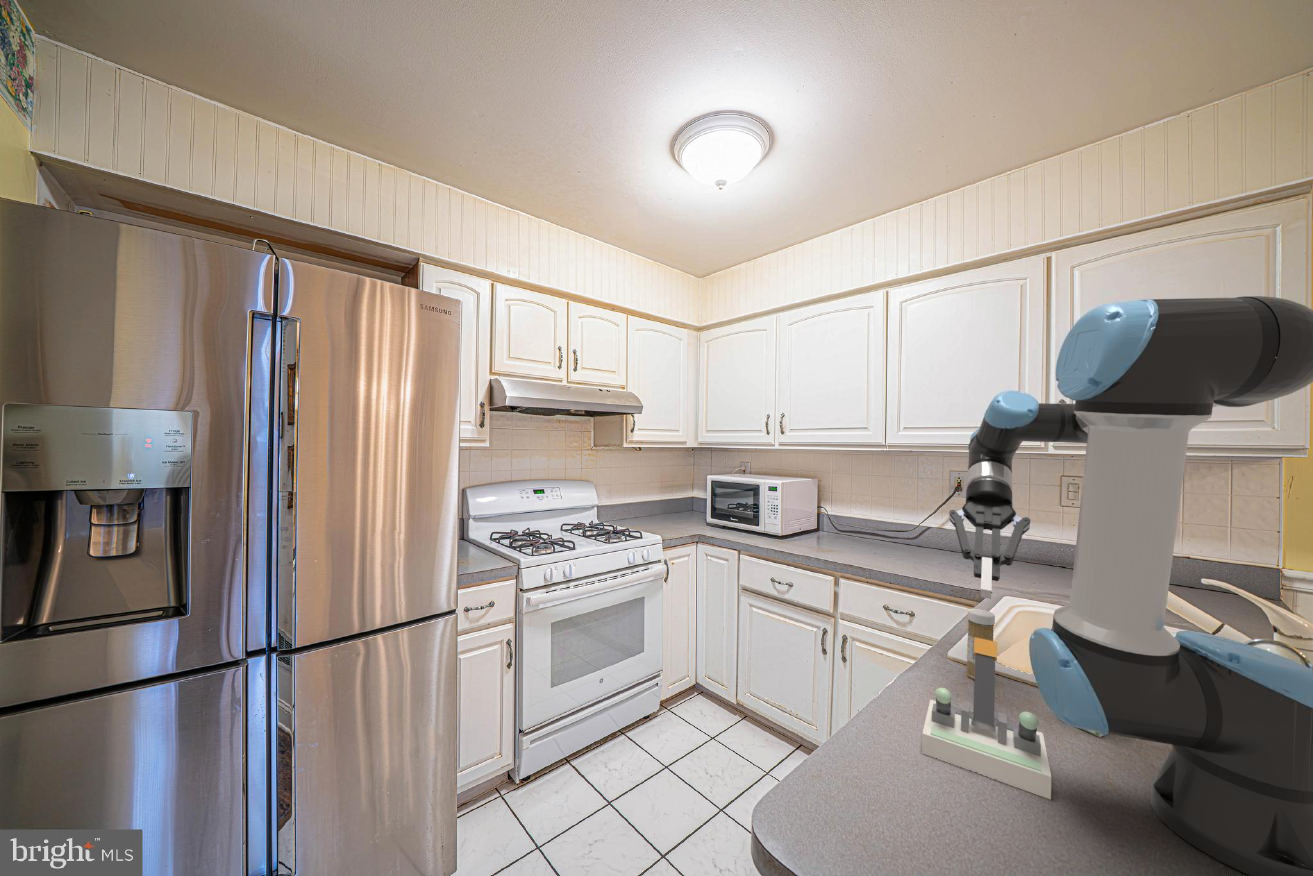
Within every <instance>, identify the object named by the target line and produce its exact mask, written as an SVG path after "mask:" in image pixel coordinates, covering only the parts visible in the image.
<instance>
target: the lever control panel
mask: <svg viewBox="0 0 1313 876" xmlns="http://www.w3.org/2000/svg"><path fill="white" fill-rule="evenodd" d="M934 696H935V700H933V699H929V703H928V704H929V705H928V708H927V712H926V716H925V721H924V726H923V730H922V735H921V736H922V738H921V739H922V741H921V754H923V755H926V756H929V757H931V758H934V759H936V758H937V760H939V761H942V762H945V763H948V764H950V763H951V765H954V766H956V767H959V768H961V767H962V769H963V770H967V771H970V770H971V771H970V772H972V773H973V772H974V773H975V772H977V773H976V774H979V775H981V774H982V775H981V776H984V777H986V776H987V778H989V779H992V780H995V779H996V780H995V781H998V782H1001V783H1004V784H1006V785H1010V786H1012V787H1014V788H1017V789H1021V790H1023V791H1025V792H1027V793H1028V792H1029V793H1032V794H1034V795H1037V796H1040V797H1041V798H1045V799H1048V800H1050V801H1051V799H1052V778H1053V777H1052V772H1051V768H1050V762H1049V759H1048V758H1049V757H1048V753H1047V748H1046V744H1045V743H1046V742H1045V738H1044V734H1043V732H1041V731H1038V727H1039V720H1038V718H1037V716H1035V714H1034V713H1031V712H1030V711H1022V712H1020V714H1019V716H1018V725H1017V724H1014V723H1011V722H1008V719H1007V714H1006V713H1003V712H1000V711H999V712H997V718H995V717H994V721H996V732H995V733H994V732H991V731H988V730H984V729H981V728H978V727H975V726H972V725H971V721H972V714H973V711H972V710H970V709H971V704H970V703H969V702H966V701H962V702H961V707H958V706H954V705H952V694H951V692H950V691H949V690H948V689H947V688H945V687H938V688H937V689H936V690H935V692H934Z"/></svg>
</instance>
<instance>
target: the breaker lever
mask: <svg viewBox="0 0 1313 876" xmlns="http://www.w3.org/2000/svg"><path fill="white" fill-rule="evenodd" d="M974 656H975V680H974V683H973V684H974V685H973V686H974V687H973V689H974V690H973V711H972V712H973V714H972V721H971V725H972V726H975V727H978V728H981V729H984V730H988V731H991V732H994V733H995V732H996V721H994V718H995V704H996V703H995V697H996V696H995V694H996V691H995V689H996V662H997V660H998V641H994V640H993V641H990V640H985V639H981V638H976V637H975V640H974Z"/></svg>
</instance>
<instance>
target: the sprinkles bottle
mask: <svg viewBox="0 0 1313 876" xmlns="http://www.w3.org/2000/svg"><path fill="white" fill-rule="evenodd" d="M995 615H996V614H994V613H993V612H991V611H990V610H989V611H988V610H985V609H979V608H969V609H968V610H967V622H968V623H967V624H968V625H967V626H968V627H967V648H966V651H967V652H966V659H967V661H966V662H967V663H966V665H967V666H966V671H965V672H966V673H965V675H966V676H967V677H969V678H970V679H972V680H973V679H974V681H975V656H974V640H975V637H976V638H981V639H985V640H990V641H994V626H995V624H996V616H995Z"/></svg>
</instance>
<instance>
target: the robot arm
mask: <svg viewBox="0 0 1313 876" xmlns="http://www.w3.org/2000/svg"><path fill="white" fill-rule="evenodd" d="M1055 381H1056V382H1057V384H1056V385H1057V387H1056V388H1057V390H1058V391H1059V393H1060V394H1061V395H1062V396H1064V397H1065V398H1067V399H1069V400H1071V401H1075V403H1049V402H1048V403H1046V402H1045V403H1040V402H1039V401H1038V400H1037V399H1036V398H1035V397H1034V396H1033V395H1031V394H1029V393H1026V392H1020V391H1019V390H1005V391H1002V392H999V393H998V394H996V395H995V396H993V399H992V400H991V401H990V403H989V404H988V407H987V409H986V410H985V412H984V415H983V419H982V421H981V424H980V427H979V428H978V429H977V430H975V431H973V432H972V434H971V435H970V439H969V444H968V447H967V450H968V461H967V462H968V463H967V464H968V465H967V475H966V492H965V494H966V495H965V503H964V505H963V506H962V507H961V509H959V510H955V509H950V510H949V511H948V514H949V522H950V523H951V524H952V525H953V527H954V529H955V531H956V532H955V533H956V535H957V539H958V542H959V543H958V544H959V547H960V550H961V554H962V558H963V559H965V560H971V561H972V562H973V576H974V578H978V579H981V581H980V598H984V599H990V600H991V599H992V592H993V591H992V581H995V582H999V581H1000V577H1001V576H1000V575H1001V566H1004V565H1005V566H1009V567H1011V566H1012V565H1013V563H1014V559H1015V557H1016V554H1017V553H1018V548H1019V546H1020V543H1021V541H1022V537H1023V535H1024V534H1025V533H1027V532H1028V531H1029V530H1030V527H1031V518H1029V517H1027V516H1026V517H1021V516H1019V515H1017V512H1016V510H1015V509H1014V508H1013V459H1014V456H1015V454H1016V453H1017V451H1018V450H1019V447H1020V446H1021V444H1022V443H1023V442H1027V443H1029V442H1032V443H1035V442H1036V443H1066V444H1067V443H1069V444H1086V448H1085V456H1084V457H1085V459H1084V465H1083V466H1084V468H1083V477H1082V487H1081V496H1080V505H1079V506H1080V507H1079V513H1078V524H1077V532H1076V533H1077V534H1076V541H1075V552H1074V560H1073V561H1074V562H1073V570H1072V578H1071V579H1072V581H1071V591H1070V599H1069V603H1068V604H1066V605H1063V606H1060V607H1058V608H1057V609H1055V610H1054V612H1053V617H1052V624H1051V625H1052V626H1051V628H1049V627H1042V628H1041V627H1040V628H1036V629H1034V630H1033V632H1032V633H1031V634H1030V637H1029V640H1028V641H1029V642H1028V652H1029V660H1030V665H1031V670H1032V674H1033V677H1034V679H1035V682H1036V685H1037V686H1036V687H1037V688H1038V691H1039V693H1040V695H1041V697H1042V699H1043V701H1044V702H1045V703H1046V706H1047V707H1048V708H1049V710H1050V711H1051V712H1052V713H1053V714H1054V716H1055V717H1057V718H1058V720H1059V719H1060V721H1061V722H1062V723H1064V724H1066V725H1068V726H1069V727H1072V728H1073V727H1074V728H1077V729H1079V728H1081V729H1080V730H1082V729H1086V730H1091V731H1096V732H1097V733H1099V734H1102V735H1104V736H1107V735H1112V736H1120V737H1125V738H1131V739H1136V740H1142V741H1148V742H1154V743H1155V742H1156V743H1159V744H1160V743H1161V744H1166V745H1172V747H1171V751H1170V752H1169V754H1168V755H1167V756H1168V757H1167V758H1166V760H1165V761H1164V762H1163V765H1162V766H1161V768H1160V770H1159V771H1158V772H1157V774H1156V776H1155V778H1154V779H1153V782H1152V784H1151V791H1150V793H1151V794H1150V804H1151V807H1152V810H1153V811H1154V814H1156V816H1157V817H1158V818H1159V819H1160V820H1161V821H1162V823H1164V825H1166V826H1167V827H1168V828H1169V829H1170V830H1171V831H1173V832H1174V833H1175V834H1177V835H1178V836H1179V837H1181V838H1182V839H1183V840H1185V841H1187V842H1188V843H1189V844H1191V846H1194V847H1195V848H1196V849H1197V850H1198V849H1199V850H1200V851H1201V852H1203V853H1205V854H1207V855H1209V856H1210V857H1212V858H1214V859H1215V860H1217V861H1219V862H1221V863H1223V864H1224V865H1227V866H1229V867H1231V868H1233V869H1235V870H1237V871H1239V872H1241V873H1244V874H1245V875H1248V876H1313V669H1312V668H1309V667H1308V666H1306V665H1304V664H1303V663H1300V662H1299V661H1295V660H1294V659H1293V660H1292V659H1290V658H1288V657H1285V656H1282V655H1280V654H1277V653H1275V652H1271V651H1269V650H1266V649H1263V648H1259V647H1257V646H1254V645H1250V644H1247V643H1244V642H1240V641H1237V640H1233V639H1229V638H1225V637H1222V636H1218V635H1214V634H1209V633H1205V632H1201V631H1200V632H1199V631H1196V630H1195V631H1193V630H1180V631H1176V634H1175V636H1174V635H1172V633H1171V632H1169V630H1167V628H1165V621H1166V620H1165V619H1166V613H1167V605H1168V604H1167V603H1168V596H1169V590H1170V589H1169V588H1170V580H1171V572H1172V565H1173V557H1174V556H1173V555H1174V550H1175V543H1176V542H1175V541H1176V534H1177V527H1178V520H1179V512H1180V504H1181V498H1182V497H1181V495H1182V489H1183V481H1184V473H1185V465H1186V459H1187V458H1186V457H1187V450H1188V443H1189V442H1188V440H1189V436H1190V435H1189V434H1190V432H1191V430H1192V429H1193V428H1196V427H1197V426H1199V425H1202V423H1204V422H1206V421H1208V420H1209V419H1211V418H1212V413H1213V408H1216V407H1223V408H1225V407H1226V408H1245V407H1249V406H1253V405H1257V404H1261V403H1264V402H1269V401H1272V400H1276V399H1279V398H1282V397H1286V396H1288V395H1291V394H1294V393H1296V392H1298V391H1300V390H1302V389H1304V388H1306V387H1307V386H1309V385H1310V384H1312V383H1313V309H1312V308H1310V307H1308V306H1306V305H1304V304H1301V303H1300V302H1299V303H1298V302H1296V301H1294V300H1290V299H1286V298H1279V297H1277V296H1276V297H1275V296H1263V295H1257V296H1256V295H1255V296H1254V295H1252V296H1249V295H1248V296H1246V295H1245V296H1237V297H1203V298H1202V297H1198V298H1197V297H1196V298H1195V297H1192V298H1190V297H1189V298H1158V299H1157V298H1156V299H1155V298H1154V299H1153V298H1145V299H1137V300H1127V301H1119V302H1110V303H1105V304H1104V303H1103V304H1101V305H1098V306H1096V307H1094V308H1092V309H1090V310H1088V311H1087V312H1086V313H1084V314H1083V315H1082V316H1081V317H1080V318H1079V319H1078V320H1076V322H1075V323H1074V325H1073V326H1072V328H1070V330H1069V331H1068V333H1067V334H1066V336H1065V338H1064V339H1063V343H1062V345H1061V347H1060V350H1059V352H1058V356H1057V360H1056V365H1055ZM965 518H966V519H967V521H969V522H970V524H971V526H973V527H974V528H975V533H974V535H975V537H974V550H973V549H971V546H970V543H969V539H968V535H967V532H966V527H965V524H964V519H965ZM1012 522H1013V525H1012V527H1013V530H1012V533H1011V536H1010V538H1009V540H1008V544H1007V547H1006V549H1005V551H1004V553H1003V554H1001V530H1004V529H1005V527H1008V525H1010V524H1011V523H1012ZM984 530H989V531H991V557H983V550H984V549H983V548H984Z"/></svg>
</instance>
